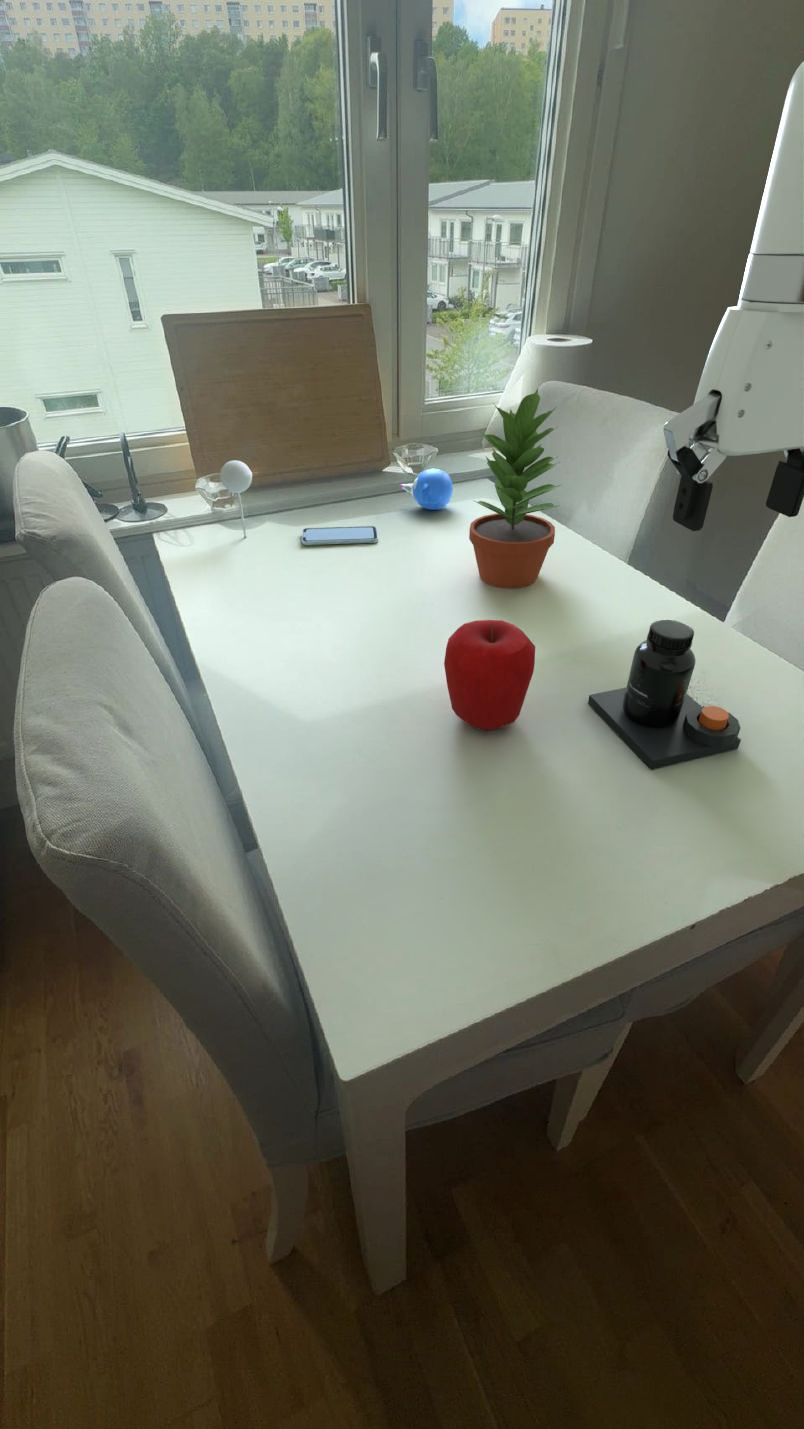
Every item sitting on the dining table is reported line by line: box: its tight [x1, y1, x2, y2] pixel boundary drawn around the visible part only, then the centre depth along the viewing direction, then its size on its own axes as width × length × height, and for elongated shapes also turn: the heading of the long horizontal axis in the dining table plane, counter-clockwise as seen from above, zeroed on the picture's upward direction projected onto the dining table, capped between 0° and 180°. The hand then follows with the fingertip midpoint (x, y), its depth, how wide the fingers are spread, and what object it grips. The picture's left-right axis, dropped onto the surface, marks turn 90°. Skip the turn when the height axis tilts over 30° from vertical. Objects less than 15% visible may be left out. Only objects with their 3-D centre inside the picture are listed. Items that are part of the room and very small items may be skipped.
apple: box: [443, 619, 536, 732], centre depth 82 cm, size 10×10×14 cm
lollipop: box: [219, 460, 253, 538], centre depth 133 cm, size 6×6×15 cm
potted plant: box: [468, 388, 563, 589], centre depth 111 cm, size 15×15×30 cm
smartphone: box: [301, 525, 379, 546], centre depth 136 cm, size 7×1×15 cm
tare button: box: [699, 705, 729, 730], centre depth 80 cm, size 3×3×2 cm
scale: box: [587, 687, 742, 771], centre depth 83 cm, size 14×12×3 cm
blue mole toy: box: [399, 468, 454, 511], centre depth 147 cm, size 12×12×8 cm
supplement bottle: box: [623, 618, 696, 728], centre depth 81 cm, size 7×7×12 cm
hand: (734, 518), depth 59 cm, fingers open, 9 cm apart
